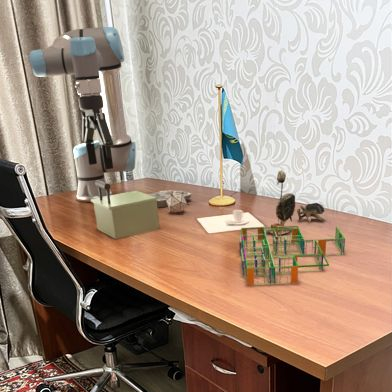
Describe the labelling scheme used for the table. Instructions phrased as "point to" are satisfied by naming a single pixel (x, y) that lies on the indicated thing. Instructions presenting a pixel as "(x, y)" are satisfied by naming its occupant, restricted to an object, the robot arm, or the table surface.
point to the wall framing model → (295, 239)
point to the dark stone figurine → (283, 206)
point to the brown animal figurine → (311, 211)
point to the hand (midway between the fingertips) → (100, 166)
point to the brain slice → (165, 195)
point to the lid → (119, 197)
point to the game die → (176, 202)
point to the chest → (127, 219)
